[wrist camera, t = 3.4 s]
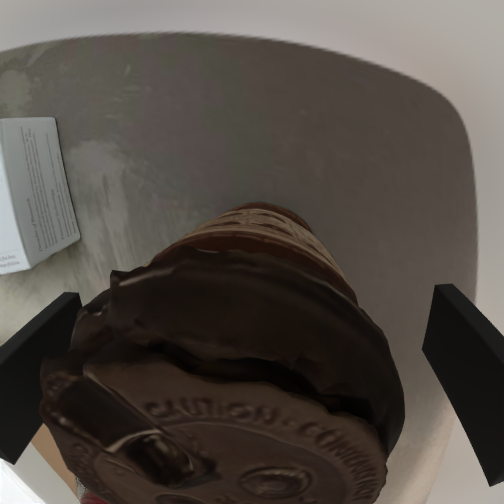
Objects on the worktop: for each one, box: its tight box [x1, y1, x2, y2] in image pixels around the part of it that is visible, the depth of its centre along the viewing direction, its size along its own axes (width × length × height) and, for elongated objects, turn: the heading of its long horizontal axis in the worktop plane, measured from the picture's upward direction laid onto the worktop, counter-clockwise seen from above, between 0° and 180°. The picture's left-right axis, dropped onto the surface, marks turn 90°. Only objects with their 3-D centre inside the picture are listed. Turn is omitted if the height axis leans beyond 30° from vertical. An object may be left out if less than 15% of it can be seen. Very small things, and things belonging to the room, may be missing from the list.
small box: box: [0, 117, 80, 275], centre depth 15 cm, size 8×8×5 cm
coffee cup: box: [38, 202, 405, 504], centre depth 11 cm, size 9×8×13 cm
